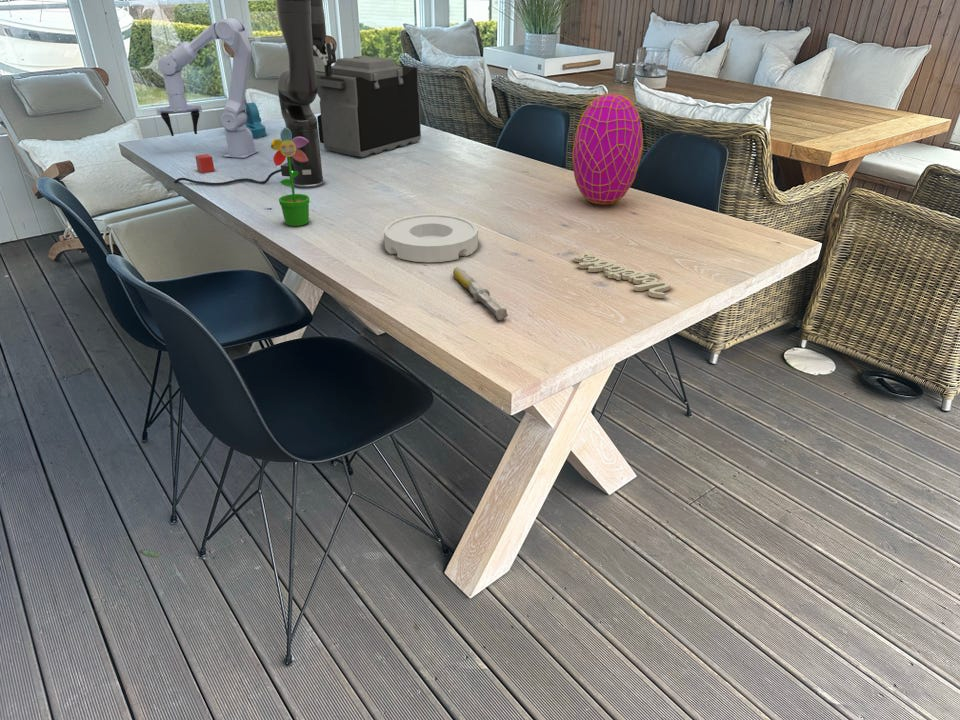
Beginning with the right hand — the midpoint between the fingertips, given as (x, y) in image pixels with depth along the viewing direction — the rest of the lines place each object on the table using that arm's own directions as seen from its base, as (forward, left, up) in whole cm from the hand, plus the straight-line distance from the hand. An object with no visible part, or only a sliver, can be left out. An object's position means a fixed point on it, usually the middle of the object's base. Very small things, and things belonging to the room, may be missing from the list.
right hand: (318, 76), depth 227 cm
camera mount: (-47, +28, -27) cm, 61 cm away
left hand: (-51, -7, -21) cm, 55 cm away
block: (-32, -24, -27) cm, 49 cm away
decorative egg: (+98, -23, -27) cm, 104 cm away
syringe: (+79, -95, -27) cm, 127 cm away
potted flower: (+21, -63, -27) cm, 72 cm away
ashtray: (+60, -69, -27) cm, 96 cm away
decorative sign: (+108, -75, -27) cm, 134 cm away
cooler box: (+8, +23, -27) cm, 36 cm away
